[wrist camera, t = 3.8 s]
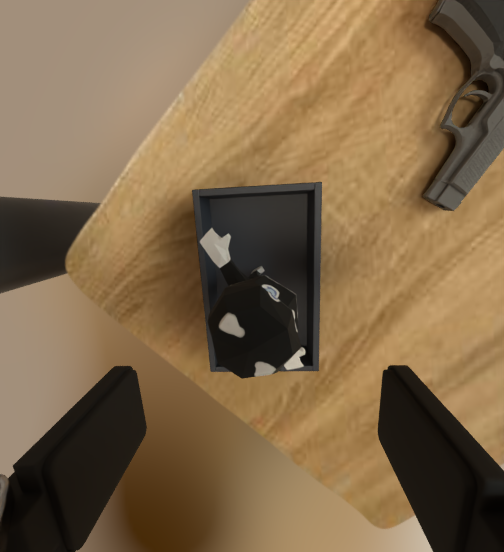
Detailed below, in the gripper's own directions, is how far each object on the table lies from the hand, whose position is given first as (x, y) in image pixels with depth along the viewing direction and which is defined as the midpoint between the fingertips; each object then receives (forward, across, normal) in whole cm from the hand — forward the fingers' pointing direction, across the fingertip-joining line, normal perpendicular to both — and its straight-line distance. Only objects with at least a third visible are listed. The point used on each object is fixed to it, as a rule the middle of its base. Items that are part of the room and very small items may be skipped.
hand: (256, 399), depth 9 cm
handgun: (+19, -18, -16) cm, 31 cm away
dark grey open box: (+19, 0, 0) cm, 19 cm away
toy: (+19, 0, 0) cm, 19 cm away
